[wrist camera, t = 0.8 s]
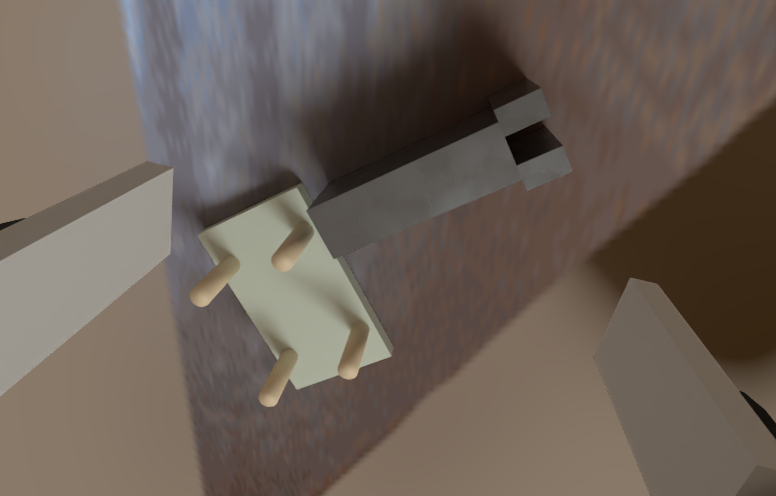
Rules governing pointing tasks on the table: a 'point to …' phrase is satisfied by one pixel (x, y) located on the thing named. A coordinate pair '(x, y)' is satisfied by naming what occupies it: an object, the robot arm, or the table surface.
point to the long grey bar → (442, 172)
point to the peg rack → (292, 293)
